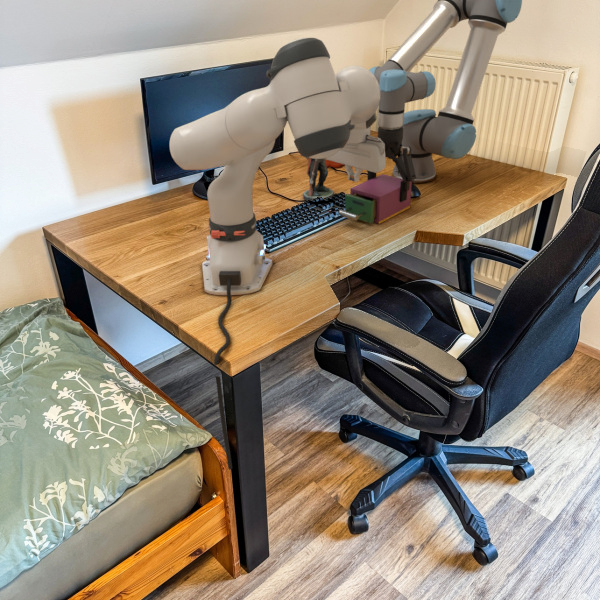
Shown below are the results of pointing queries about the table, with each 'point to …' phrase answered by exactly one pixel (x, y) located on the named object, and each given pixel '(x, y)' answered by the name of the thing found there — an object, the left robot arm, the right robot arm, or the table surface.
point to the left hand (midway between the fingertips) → (353, 180)
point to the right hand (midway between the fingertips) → (387, 196)
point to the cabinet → (384, 195)
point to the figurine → (315, 190)
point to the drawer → (359, 208)
